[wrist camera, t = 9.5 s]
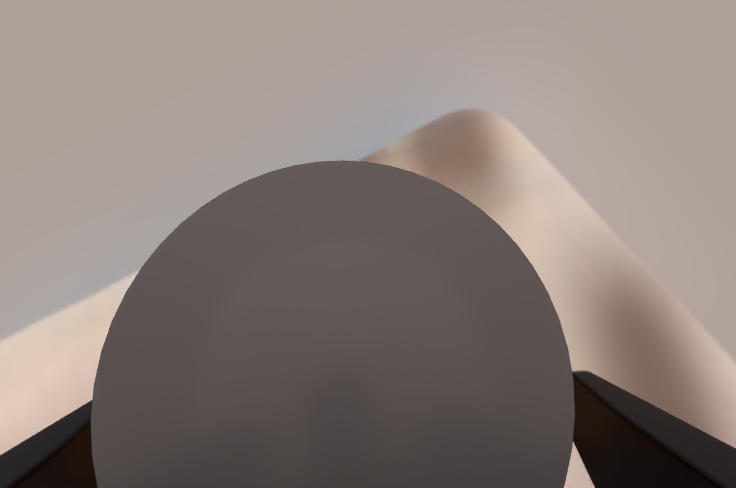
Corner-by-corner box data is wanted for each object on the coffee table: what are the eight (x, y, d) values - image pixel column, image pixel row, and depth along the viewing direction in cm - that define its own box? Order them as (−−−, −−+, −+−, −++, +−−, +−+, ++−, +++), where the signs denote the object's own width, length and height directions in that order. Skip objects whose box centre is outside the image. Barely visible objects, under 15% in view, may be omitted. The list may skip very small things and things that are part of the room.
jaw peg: (421, 453, 15) (663, 609, 3) (298, 473, 15) (38, 741, 3) (399, 330, 17) (496, 144, 5) (291, 345, 17) (126, 180, 5)
